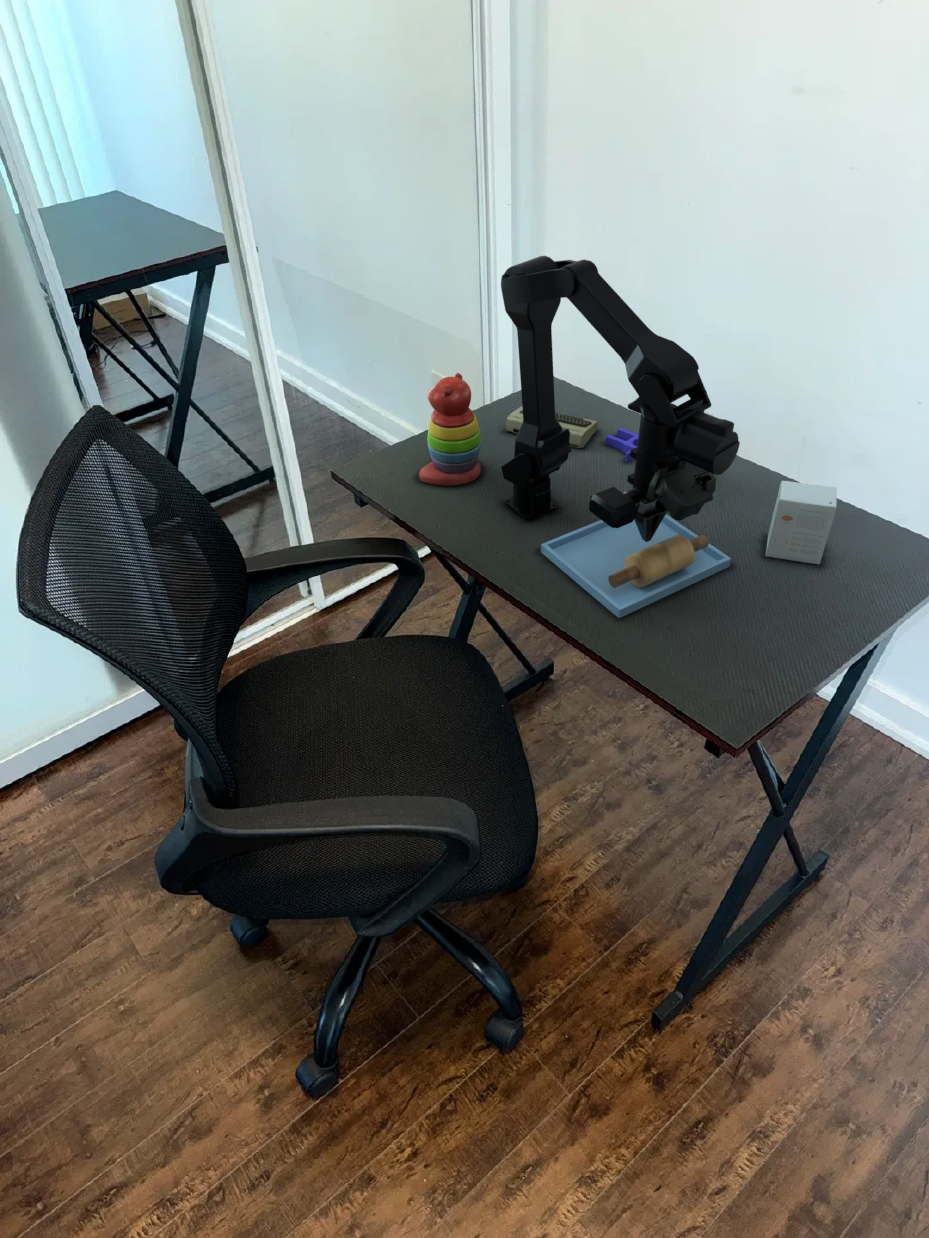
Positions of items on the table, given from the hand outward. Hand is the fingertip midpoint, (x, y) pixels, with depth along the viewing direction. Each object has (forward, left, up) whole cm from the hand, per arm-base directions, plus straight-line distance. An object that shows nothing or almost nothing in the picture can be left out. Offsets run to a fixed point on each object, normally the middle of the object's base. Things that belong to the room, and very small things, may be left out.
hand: (646, 540), depth 122 cm
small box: (+10, +21, -5) cm, 24 cm away
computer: (-42, +13, -5) cm, 44 cm away
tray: (-2, 0, -5) cm, 5 cm away
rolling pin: (+3, 0, -5) cm, 6 cm away
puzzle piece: (-27, +22, -5) cm, 36 cm away
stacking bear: (-40, -10, -5) cm, 42 cm away
